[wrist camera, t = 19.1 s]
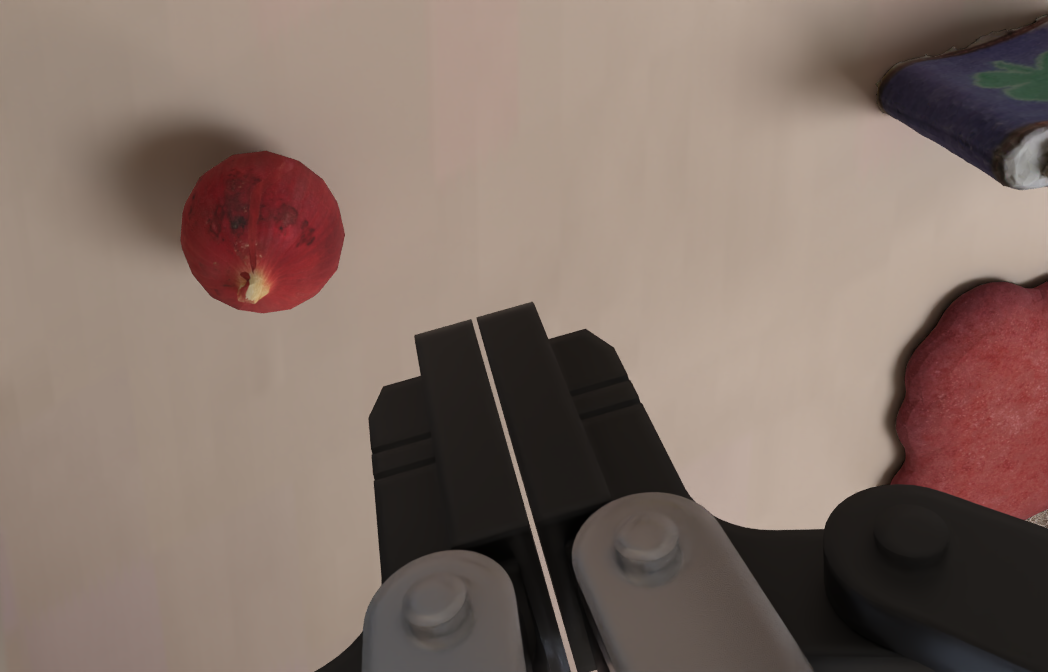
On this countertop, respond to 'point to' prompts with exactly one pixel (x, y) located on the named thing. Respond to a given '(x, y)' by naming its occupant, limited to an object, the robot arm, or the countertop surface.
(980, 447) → the patty
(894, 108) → the flask
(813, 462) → the countertop surface
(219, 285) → the onion
